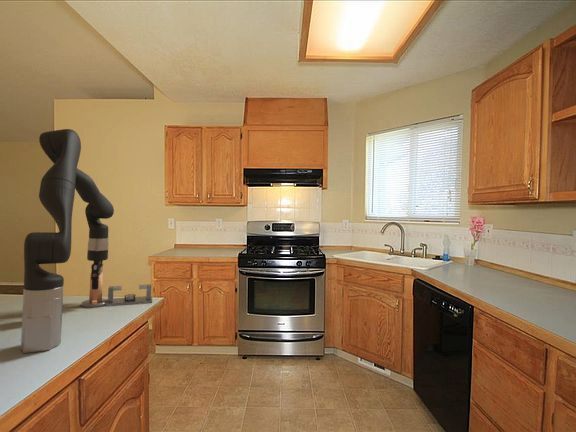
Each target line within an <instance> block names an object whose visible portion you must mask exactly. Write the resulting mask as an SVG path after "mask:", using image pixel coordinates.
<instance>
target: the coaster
mask: <svg viewBox="0 0 576 432" xmlns="http://www.w3.org/2000/svg"><path fill="white" fill-rule="evenodd" d="M106 303H108V298H104V297H102V302H99V303H97V304H96V305H92V303H89V299H86V300H83V301H82V302H81V307H82V308H84V309H85V308H87V309H94V308H95V309H96V308H101V307H107V306H106Z"/></svg>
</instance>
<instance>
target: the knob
mask: <svg viewBox="0 0 576 432" xmlns="http://www.w3.org/2000/svg"><path fill="white" fill-rule="evenodd" d="M89 275H90V277H89V295H88V296H89V298H88V300H89V303H92V305H96V304H97V303H99V302H102V298H103V283H104V281H103V280H104V273H103V271H102V272H101V275H100V276H99V284H98V289H92V280H91V273H90V274H89ZM96 276H97V275H94V277H96Z"/></svg>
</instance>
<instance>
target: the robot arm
mask: <svg viewBox="0 0 576 432" xmlns="http://www.w3.org/2000/svg"><path fill="white" fill-rule="evenodd" d="M38 141H39V144H40V148H41V149H42V150H43V152H44V154H45V155H46V156H47V157H48V159H49V160H50V161H51V162H52V163H53V165H52V166H51V167H50V168H49V169H48V170H47V171H46V172H45V174H44V175H43V176H42V177H41V180H40V185H39V192H38V198H39V199H38V200H39V201H40V203H41V204H42V206H43V207H44V208H45V209H46V211H47V213H49V215H50V216H51V217H52V219H53V220H54V222H55V224H56V226H57V228H58V232H52V231H51V232H41V231H40V232H29V233H28V234H27V235H26V236H25V239H24V242H23V261H24V264H23V265H24V267H23V268H24V269H23V271H24V272H23V274H24V275H23V291H22V292H23V293H22V295H23V296H22V311H21V312H22V314H21V320H22V321H21V338H20V339H21V340H20V351H22V353H23V354H29V353H35V352H36V353H37V352H42V351H43V352H44V351H50V350H52V349H53V348H56V347H57V346H59V345H60V344H61V343H62V324H63V304H64V303H63V302H64V286H65V285H64V282H65V280H64V276H62V274H58V273H54V272H49V271H47V270H46V269H43V268H42V267H41V266H40V265H48V264H49V265H51V264H52V265H53V264H65V263H67V262H68V261H69V259H70V257H71V253H72V231H73V229H72V226H73V225H72V224H73V223H72V220H73V208H74V201H75V195H76V193H77V194H78V196H79V197H80V198H81V200H82V201H83V202H84V203H86V204H87V205H86V206H85V209H84V210H85V211H84V212H85V217H86V221H87V225H88V228H89V229H88V242H87V255H86V256H87V258H86V260H87V261H89V262H91V261H92V262H93V263H92V264H91V267H90V269H91V272H90V274H91V280H92V289H98V284H99V276H100V275H101V272H102V273H103V268H104V263H103V261H108V259H109V226H108V225H107V224H104V223H102V222H101V219H103V220H107V219H111V217H113V215H114V214H115V209H114V205H113V204H112V203H111V201H110V200H109V199H108V198H107V197H106V196H105V195H104V194H103V193H102V192H101V191H100V190H99V188H98V186H97V184H96V183H95V181H94V179H93V178H92V177H90V175H88V174H87V173H85V172H84V171H82V170H81V169H79V168H78V165H79V164H78V163H79V160H80V156H81V151H82V144H81V143H82V142H81V138H80V135H79V133H77V132H76V130H74V129H70V128H64V129H57V130H56V129H55V130H48V131H44V132H42V133H41V134H40V135H39V140H38ZM94 275H97V276H96V277H94Z"/></svg>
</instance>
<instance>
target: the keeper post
mask: <svg viewBox="0 0 576 432" xmlns="http://www.w3.org/2000/svg"><path fill="white" fill-rule="evenodd" d="M107 289H108V290H107V299H108V303H106V306H105V307H110V306H111V307H114V306H126V305H128V304H129V305H137V304H138V305H140V304H139V303H143V304H152V303H153V296H152V284H151V283H149V284H138V290H146V294H145V296H136V294H135V293H128V294H125V295H124V297H118V298H117V297H116V298H114V295H115V294H114V291H115V292H117V291H122V289H123V285H110V286H108V288H107Z"/></svg>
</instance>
